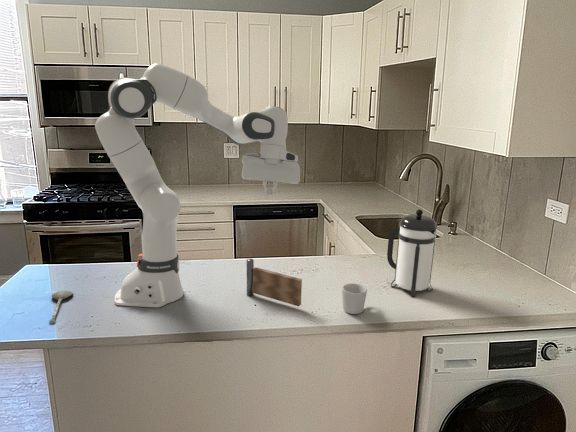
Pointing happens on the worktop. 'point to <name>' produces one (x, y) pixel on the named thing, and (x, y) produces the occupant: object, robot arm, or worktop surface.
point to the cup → (353, 298)
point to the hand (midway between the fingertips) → (269, 194)
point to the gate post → (250, 277)
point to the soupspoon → (59, 301)
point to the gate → (277, 286)
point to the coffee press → (413, 252)
